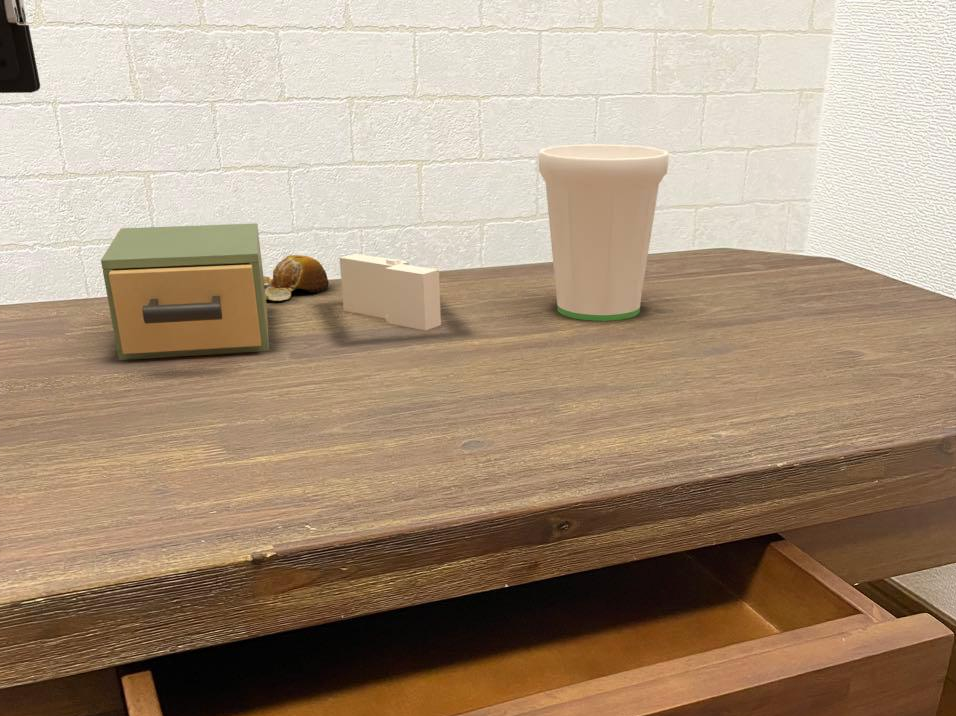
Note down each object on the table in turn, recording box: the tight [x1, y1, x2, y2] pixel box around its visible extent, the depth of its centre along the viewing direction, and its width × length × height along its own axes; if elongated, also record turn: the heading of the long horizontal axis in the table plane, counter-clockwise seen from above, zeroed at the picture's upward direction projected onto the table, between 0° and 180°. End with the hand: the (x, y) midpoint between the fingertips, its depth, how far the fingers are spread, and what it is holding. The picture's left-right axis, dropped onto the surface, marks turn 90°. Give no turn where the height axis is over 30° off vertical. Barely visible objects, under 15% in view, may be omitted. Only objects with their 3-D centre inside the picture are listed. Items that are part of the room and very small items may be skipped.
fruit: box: [263, 254, 330, 302], centre depth 111 cm, size 8×8×4 cm
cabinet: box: [100, 223, 270, 361], centre depth 95 cm, size 15×13×9 cm
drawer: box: [109, 263, 261, 354], centre depth 92 cm, size 18×11×7 cm, turn 14°
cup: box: [538, 143, 670, 322], centre depth 102 cm, size 12×12×15 cm
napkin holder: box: [339, 253, 442, 331], centre depth 101 cm, size 15×11×6 cm
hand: (13, 91), depth 69 cm, fingers closed
